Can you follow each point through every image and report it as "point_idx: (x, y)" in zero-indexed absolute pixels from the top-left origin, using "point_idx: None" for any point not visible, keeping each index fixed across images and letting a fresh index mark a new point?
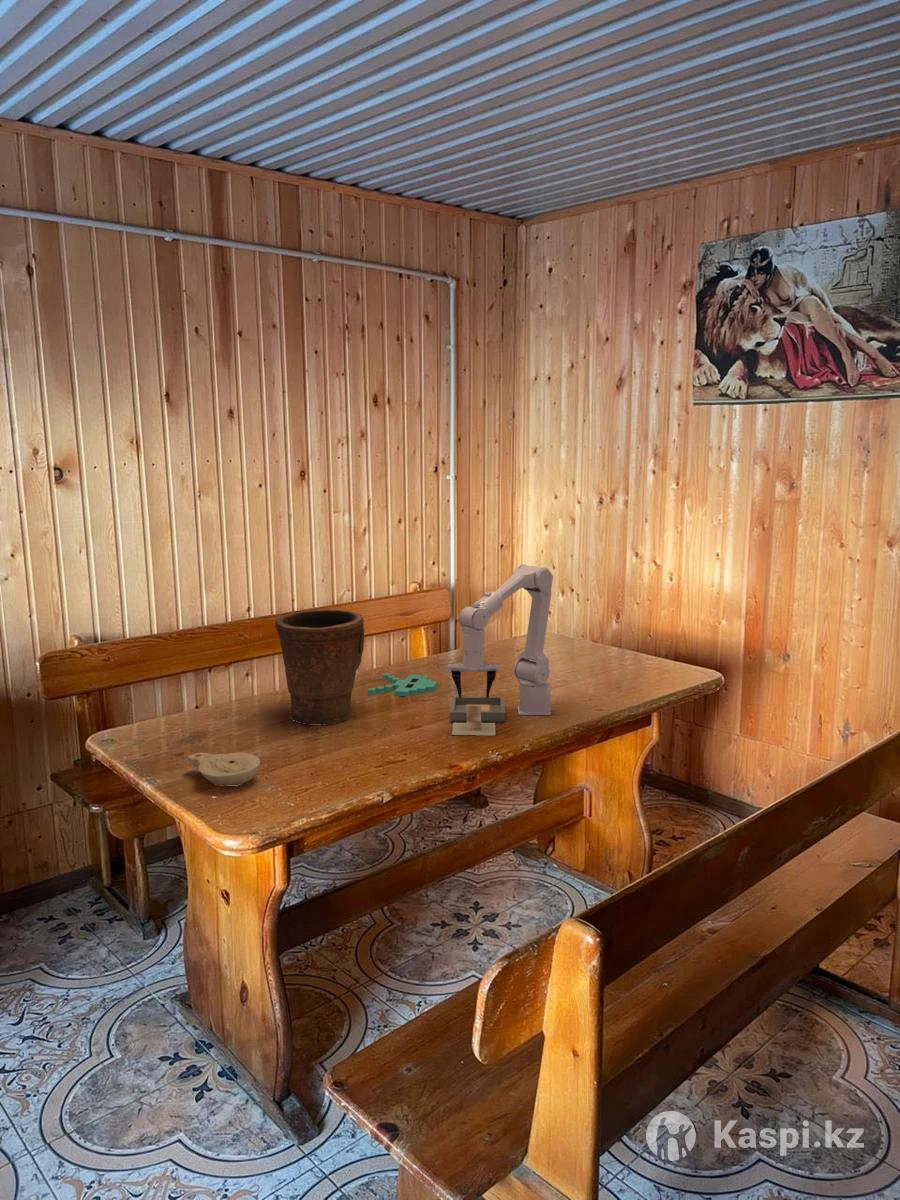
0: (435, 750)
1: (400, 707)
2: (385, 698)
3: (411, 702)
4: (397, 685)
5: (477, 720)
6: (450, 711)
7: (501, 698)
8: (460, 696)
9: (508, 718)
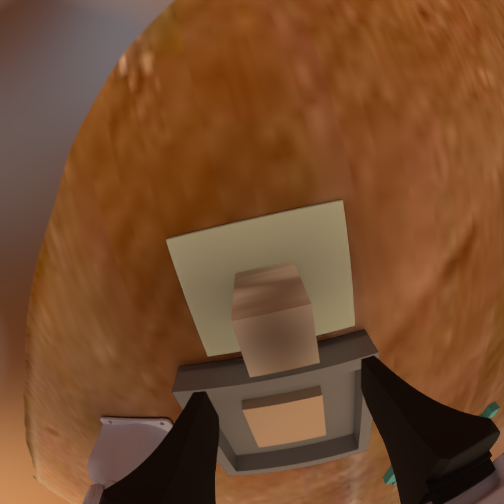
0: (355, 36)
1: (467, 380)
2: (477, 404)
3: None
4: None
5: (249, 289)
6: None
7: (231, 468)
8: (369, 362)
9: None
